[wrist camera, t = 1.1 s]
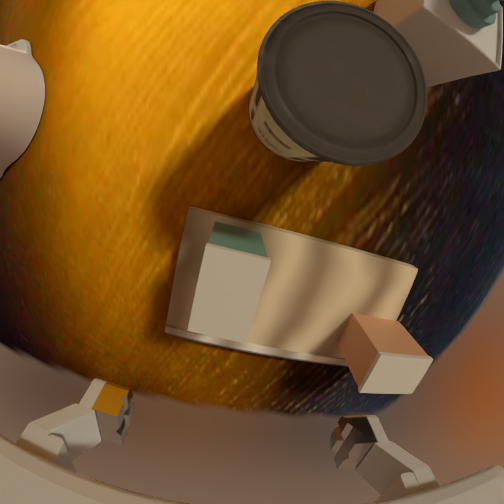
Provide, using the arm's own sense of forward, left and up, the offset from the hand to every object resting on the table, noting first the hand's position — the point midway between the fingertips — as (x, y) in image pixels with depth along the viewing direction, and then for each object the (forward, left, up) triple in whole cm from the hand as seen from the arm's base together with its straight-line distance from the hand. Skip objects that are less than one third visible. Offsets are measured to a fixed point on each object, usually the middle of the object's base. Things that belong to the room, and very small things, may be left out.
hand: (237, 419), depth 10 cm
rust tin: (+17, -6, -20) cm, 28 cm away
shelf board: (+7, -3, -22) cm, 23 cm away
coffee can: (+2, +15, -22) cm, 27 cm away
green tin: (-1, -1, -20) cm, 20 cm away
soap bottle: (+11, +28, -22) cm, 38 cm away
